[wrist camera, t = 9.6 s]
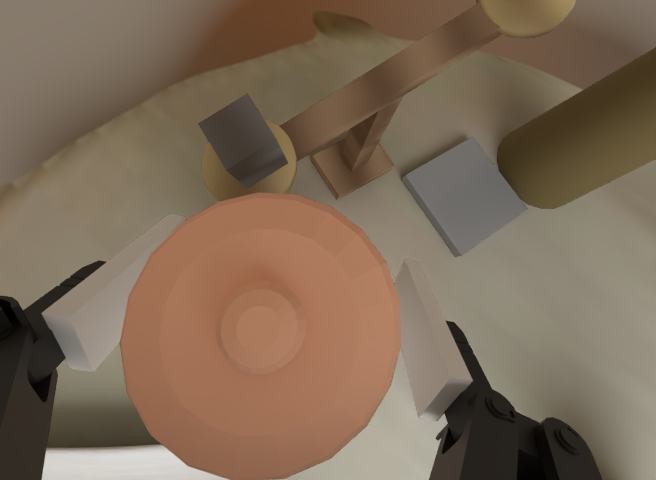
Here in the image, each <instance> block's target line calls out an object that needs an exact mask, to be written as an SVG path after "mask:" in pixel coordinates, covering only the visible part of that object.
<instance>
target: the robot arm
mask: <svg viewBox="0 0 656 480" xmlns="http://www.w3.org/2000/svg"><path fill="white" fill-rule="evenodd" d="M184 221H185V216H180V215H175V214H170V213H169V214H168V215H167V216H166V217H164V218H163V219H162V220H160V221H159V222H158V223H157V224H155V225H154V226H153V227H151V228H150V229H149V230H148V231H146V232H145V233H144V234H142V235H141V236H140V237H139V238H137V239H136V240H135V241H133V242H132V243H131V244H130V245H128V246H127V247H126V248H124V249H123V250H122V251H121V252H119V253H118V254H117V255H115V256H114V257H113V258H112V259H110V260H109V261H108V262H104V261H97V262H94V263H92V264H90V265H87V266H85V267H83V268H81V269H80V270H78V271H77V272H76V273H74V274H73V275H72V276H70V278H67V279H66V280H65V281H63V282H62V283H61V284H60V286H56V287H55V288H54V289H52V290H51V291H49V292H48V293H47V294H45V295H44V296H43V297H41V298H40V299H38V300H37V301H36V302H34V303H33V304H32V305H30V306H29V307H27V308H26V309H25V310H22V308H21V307H20V305H19V303H18V301H17V300H15V299H14V298H12V297H7V296H0V480H42V474H43V467H44V461H45V454H46V448H47V442H48V435H49V429H50V422H51V416H52V409H53V403H54V397H55V390H56V384H57V377H58V374H57V370H56V367H57V366H58V365H59V364H60V363H61V362H62V361H63V360H64V359H65V360H66V362H67V363H68V365H69V367H70V369H74V370H81V371H88V372H95V371H96V369H97V368H98V367H99V366H100V365H101V363H102V362H103V361H104V360H105V359H106V358H107V356H108V355H109V354H110V353H111V352H112V350H113V349H114V348H115V347H116V346H117V344H118V343H119V342H120V339H121V334H122V328H123V323H124V318H125V312H126V307H127V302H128V296H129V294H130V292H131V290H132V288H133V286H134V285H135V283H136V281H137V279H138V277H139V275H140V273H141V271H142V270H143V268H144V266H145V264H146V262H147V260H148V258H149V256H150V255H151V253H152V252H153V251H154V250H155V249H156V248H157V247H158V246H159V245H160V244H161V243H162V242H163V241H164V240H165V239H166V238H167V237H168V236H169V235H170V234H171V233H172V232H173V231H174V230H175V229H176V228H177V227H178V226H179V225H180V224H181V223H182V222H184ZM394 286H395V288H396V291H397V294H398V297H399V301H400V321H401V349H402V353H403V357H404V361H405V365H406V369H407V373H408V377H409V381H410V385H411V390H412V394H413V398H414V402H415V406H416V410H417V414H418V418H421V419H428V420H435V421H438V420H439V419H440V417H441V416H442V415H443V414H444V413H445V416H446V419H447V422H448V424H447V425H446V426H445V427H444V428H443V429H442V430H441V432H440V433H439V434H438V435H437V437H436V439H437V440H439V439H440V438H441V437H442V438H441V441H440V445H439V448H438V451H437V455H436V458H435V461H434V465H433V468H432V471H431V475H430V478H429V480H602V477H601V475H600V472H599V470H598V468H597V465H596V463H595V460H594V458H593V456H592V453H591V451H590V449H589V448H588V446H587V444H586V442H585V441H584V440H583V439H582V438H581V437H580V435H579V434H578V433H577V432H576V431H575V430H573V429H572V428H571V427H570V426H569V425H567V424H566V423H564V422H562V421H561V420H559V419H555V418H546V419H545V420H544V421H542V422H541V423H539V422H537V421H535V420H532V419H530V418H528V417H526V416H524V415H522V414H520V413H518V412H516V411H515V409H514V407H513V406H512V405H511V403H510V402H509V401H508V400H507V399H506V398H505V397H504V396H502V395H501V394H500V393H498V392H496V391H494V390H493V389H492V388H491V386H490V384H489V382H488V380H487V378H486V376H485V374H484V372H483V370H482V368H481V366H480V364H479V362H478V361H477V359H476V357H475V355H474V354H473V351H472V349H471V347H470V345H468V341H467V339H466V337H465V335H464V333H463V332H462V330H461V329H460V328H459V327H458V326H457V325H456V324H455V323H454V322H450V321H445V319H444V317H443V314H442V312H441V310H440V308H439V306H438V303H437V301H436V299H435V297H434V295H433V293H432V290H431V288H430V286H429V284H428V282H427V279H426V277H425V275H424V273H423V271H422V269H421V266H420V264H419V262H417V261H412V260H406V259H405V261H404V263H403V265H402V267H401V269H400V272H399V274H398V276H397V278H396V280H395V283H394Z"/></svg>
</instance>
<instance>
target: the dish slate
mask: <svg viewBox="0 0 656 480" xmlns="http://www.w3.org/2000/svg"><path fill="white" fill-rule="evenodd" d="M401 180H402V181H403V183H404V184H405V186H406V187H407V188H408V190H409V191H410V193H411V194H412V196H413V197H414V198H415V200H416V201H417V203H418V204H419V206H420V207H421V208H422V210H423V211H424V213H425V214H426V216H427V217H428V218H429V220H430V221H431V223H432V224H433V226H434V227H435V228H436V230H437V231H438V233H439V234H440V236H441V237H442V238H443V240H444V241H445V243H446V244H447V246H448V247H449V248H450V250H451V251H452V253H453V254H454V256H455V257H457V256H461V255H463V254H464V253H465V252H467V251H468V250H470V249H471V248H473V247H474V246H475V245H477V244H478V243H480V242H481V241H482V240H484V239H485V238H487V237H488V236H490V235H491V234H492V233H494V232H495V231H497V230H498V229H499V228H501V227H502V226H504V225H505V224H506V223H508V222H509V221H511V220H512V219H514V218H515V217H516V216H518V215H519V214H521V213H522V212H523V211H525V210H526V209H527V207H526V206H525V205H524V203H523V202H522V201H521V200H520V198H519V197H518V196H517V194H516V193H515V192H514V190H513V189H512V188H511V186H510V185H509V184H508V183H507V181H506V180H505V179H504V177H503V176H502V175H501V173H500V172H499V171H498V169H497V168H496V167H495V165H494V164H493V163H492V162H491V160H490V159H489V158H488V156H487V155H486V154H485V152H484V151H483V150H482V148H481V147H480V146H479V144H478V143H477V142H476V141H475V139H474V138H473V137H471V138H469V139H468V140H466V141H464V142H462V143H461V144H459V145H457V146H455V147H454V148H452V149H450V150H448V151H447V152H445V153H443V154H441V155H440V156H438V157H436V158H434V159H433V160H431V161H429V162H427V163H426V164H424V165H422V166H420V167H419V168H417V169H415V170H413V171H412V172H410V173H408V174H406V175H405V176H404V177H403V178H402V179H401Z"/></svg>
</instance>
